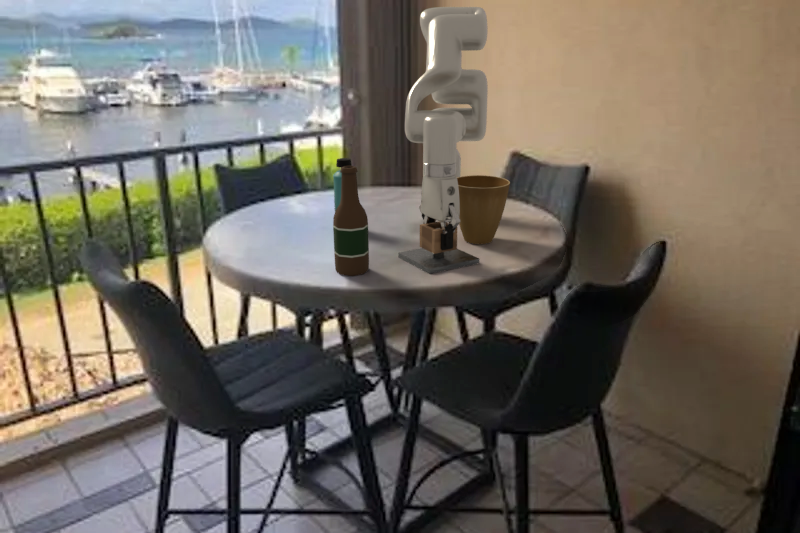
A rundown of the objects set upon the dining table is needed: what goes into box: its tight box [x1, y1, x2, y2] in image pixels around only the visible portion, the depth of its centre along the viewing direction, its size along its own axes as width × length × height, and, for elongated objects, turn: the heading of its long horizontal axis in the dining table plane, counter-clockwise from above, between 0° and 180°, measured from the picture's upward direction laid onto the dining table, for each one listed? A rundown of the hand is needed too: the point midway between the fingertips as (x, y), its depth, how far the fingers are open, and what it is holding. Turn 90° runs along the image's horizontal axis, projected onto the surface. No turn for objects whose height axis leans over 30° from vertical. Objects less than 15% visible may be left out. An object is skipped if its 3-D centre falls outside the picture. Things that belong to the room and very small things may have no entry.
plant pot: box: [457, 174, 511, 245], centre depth 163 cm, size 15×15×16 cm
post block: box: [397, 228, 481, 275], centre depth 149 cm, size 14×14×8 cm
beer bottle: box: [332, 165, 370, 277], centre depth 140 cm, size 8×8×24 cm
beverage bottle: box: [332, 157, 353, 212], centre depth 173 cm, size 6×7×20 cm
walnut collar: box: [419, 220, 458, 254], centre depth 149 cm, size 6×6×6 cm
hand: (438, 244), depth 149 cm, fingers closed on walnut collar, 6 cm apart
